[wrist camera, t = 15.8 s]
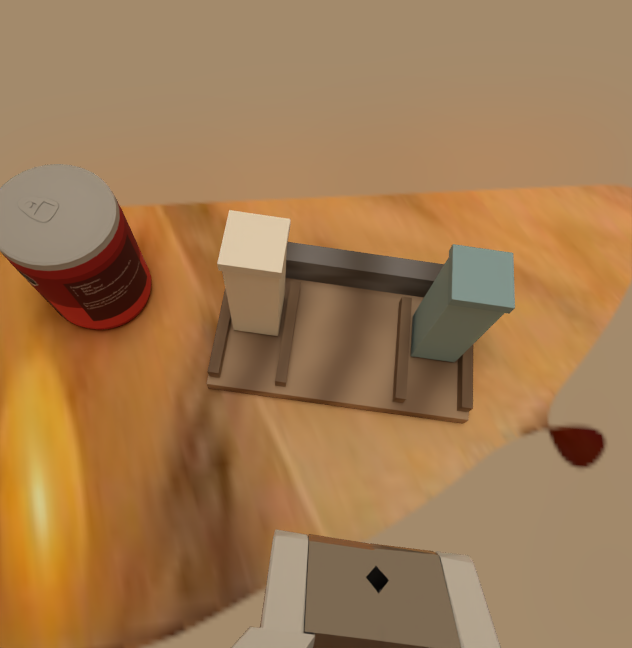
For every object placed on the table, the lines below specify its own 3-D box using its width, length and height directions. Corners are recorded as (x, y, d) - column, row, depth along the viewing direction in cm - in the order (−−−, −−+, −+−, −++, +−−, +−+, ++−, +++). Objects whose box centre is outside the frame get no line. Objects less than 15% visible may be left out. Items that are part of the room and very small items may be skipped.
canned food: (67, 244, 44) (5, 156, 34) (162, 254, 44) (129, 169, 34) (42, 327, 41) (-34, 258, 31) (144, 337, 42) (102, 272, 31)
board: (208, 388, 40) (201, 371, 36) (236, 254, 45) (232, 227, 41) (463, 423, 41) (482, 411, 37) (464, 286, 45) (482, 263, 42)
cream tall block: (231, 331, 41) (217, 263, 31) (240, 288, 42) (229, 210, 32) (279, 338, 41) (281, 272, 31) (286, 294, 42) (290, 219, 32)
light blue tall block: (408, 357, 41) (451, 299, 31) (411, 313, 42) (453, 244, 32) (456, 364, 41) (514, 308, 31) (457, 320, 42) (513, 253, 32)
